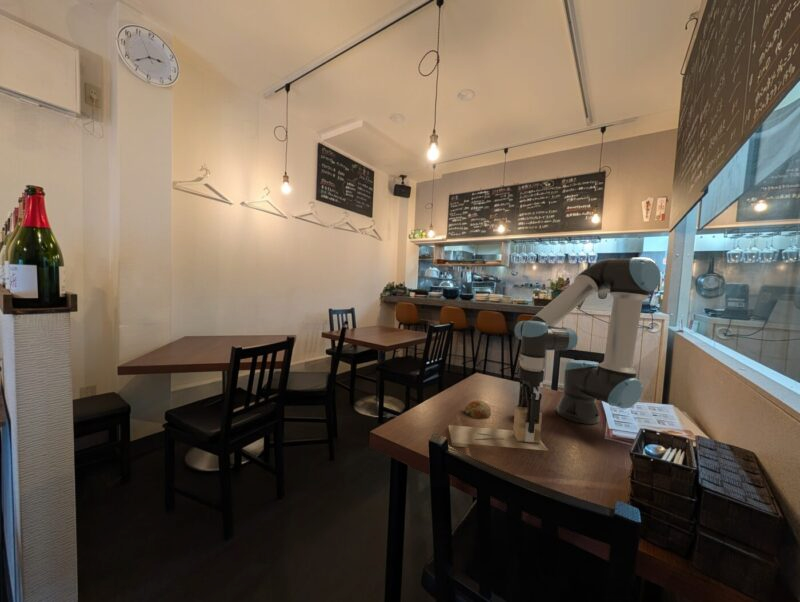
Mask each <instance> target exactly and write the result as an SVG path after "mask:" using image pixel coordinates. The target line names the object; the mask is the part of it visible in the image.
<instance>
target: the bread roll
mask: <svg viewBox="0 0 800 602" xmlns="http://www.w3.org/2000/svg"><path fill="white" fill-rule="evenodd" d="M491 411H492V410H491V407H490V406H489V405H488V403H486V402H485V401H483V400H480V399H479V400H472V401H471V402H469V403H468V404H467V405H466V406H465V407H464V414H467V415H468V416H470V417H473V418H475V419H480V420H483V419H484V420H487V419H489V418H491V414H492V412H491Z"/></svg>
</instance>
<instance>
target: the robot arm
mask: <svg viewBox="0 0 800 602" xmlns="http://www.w3.org/2000/svg"><path fill="white" fill-rule="evenodd" d="M661 277H662V274H661V271H660V268H659V266H658V265H657V263H656V262H655V261H654V259H651V258H649V257H636V256H635V257H625V258H609V259H607V258H606V259H603V260H600V261H598V262H595V263H593V264H592V265H590V266H588V267H587V268H585V269H584V270H582V271H581V272H580V273H579V274H578V275H577V276H575V278H574V282H572V283H571V284H570V285H569V286H567V287H566V288H565V289H564V290H562V291H561V292H560V293H559V294H558V295H557V296H556V297H555V298H554V299H553V300H551V301H550V302H549V303H548V304H546V305H545V306H544V307H543V308H542V309H541V310H540V311H538V312H537V313H536V314H535V315H534V316H533V317H531V318H530V319H529V320H521V321H518V322H517V323H516V325H515V327H514V334H515V336H516V338H518V339H519V340H521V342H520V343H521V344H520V357H518V360H519V366H520V367H519V370H518V378H519V391H518V392H519V393H518V403H517V405H518V407H527V420H525V422H526V428H525V441H526V442H534V433H535V424H539V415H540V413H541V400H542V397H543V396H542V393H541V392H540V393H539V386H538V384H540V383H543V382H544V378H545V377H544V375H545V371H544V370H545V369H546V368H545V367H546V357H547V356H546V354H547V351H569V350H573V349H575V348H576V346H577V345H578V341H579V340H578V338H579V337H578V334H577V332H576V331H575V330H574V329H572V328H571V327H570V328H569V327H565V326H564V327H563V326H562V327H557V326H556V325H557V324H559V323H560V322H561V321H562V320H563V319H564V318H566V317H567V316H568V315H569V314H570V313H571V312H572V311H574V310H575V308H577V307H579V305H580V304H581V303H582V302H584V301H585V300H586V299H587V298H588V297H590V296H594V295H596V294H597V293H598V292H600V291H603V290H609V294H610V295H611V296H612V298H613V299H612V307H611V313H610V320H609V324H608V330H607V331H608V332H607V337H606V344H605V351H604V358H603V361H602V362H600V363H599V362H597V361H591V360H581V359H580V360H579V359H577V360H575V359H572V360H568V361H567V362H566V363H565V369H564V381H563V393H562V396H561V398H560V400H559V403H558V404H557V407H556V412H557V414H558V415H559V416H561V417H562V418H564V419H566V420H568V421H571V422H575V423H579V424H584V425H585V424H587V425H593V424H594V425H595V424H598V423H600V413H599V408H598V406H597V405H598V404H597V402H596V400H599V401H600V402H603V403H607V404H609V405H610V406H612V407H616V408H619V409H624V410H625V409H629V408H632V407H633V406H634V405H636V404H637V403H638V402H639V401H640V399H641V397H642V394H643V389H644V388H643V385H642V384H643V383H642V382H641V381H640V380H639V379H638V378H636V377H637V371H636V370H635V369H634V368H633V364H634V356H635V350H636V346H637V345H636V343H637V339H638V338H637V337H638V331H639V326H640V319H641V313H642V306H643V302H644V301H645V300H646V299H647V298H649V296H650V292H652V291H655V290H657V289H658V287H659V286H660V283H661Z"/></svg>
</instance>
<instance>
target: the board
mask: <svg viewBox="0 0 800 602" xmlns="http://www.w3.org/2000/svg"><path fill="white" fill-rule="evenodd" d="M448 432H449V438H450V441H451V442H450V443H451V446H452V447H461V448H470V446H469V445H475V446H476V445H477V446H479V445H480V446H491V447H500V448H501V447H503V448H510V449H511V448H513V449H527V450H538V451H549V449H548V448H547V447H546V445H545V444H544V442H543V441H542V440H541V439H540V444H530V443H518V442H517V441H516V439H515V438H514V436H513V429H503V428H502V429H500V428H486V427H476V426H464V425H463V426H462V425H453V424H452V425H450V424H449V425H448Z"/></svg>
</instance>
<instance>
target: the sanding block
mask: <svg viewBox="0 0 800 602" xmlns="http://www.w3.org/2000/svg"><path fill="white" fill-rule="evenodd" d="M542 416H543V414H542V412H540V415H539V424H535V433H534V442H526V441H525V428H526V422H525V420H527V407H517V405H516V406H514V418H513V429H512V430H513V436H514V438H515V439H516V441H517V442H518V443H530V444H540V440H541V432H542V419H543V417H542Z"/></svg>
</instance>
